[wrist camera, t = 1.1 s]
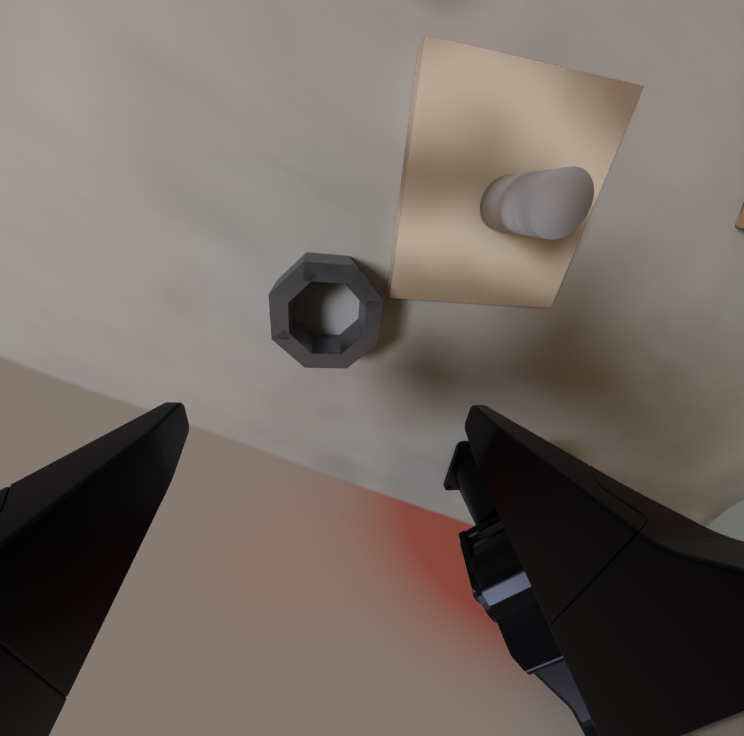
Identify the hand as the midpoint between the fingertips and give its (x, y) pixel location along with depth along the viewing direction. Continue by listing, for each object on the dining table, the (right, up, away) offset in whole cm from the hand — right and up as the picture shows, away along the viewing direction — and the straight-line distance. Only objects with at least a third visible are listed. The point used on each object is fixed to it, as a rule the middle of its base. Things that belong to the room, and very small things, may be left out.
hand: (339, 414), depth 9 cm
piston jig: (+9, +12, +9) cm, 17 cm away
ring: (-2, +6, +10) cm, 12 cm away
